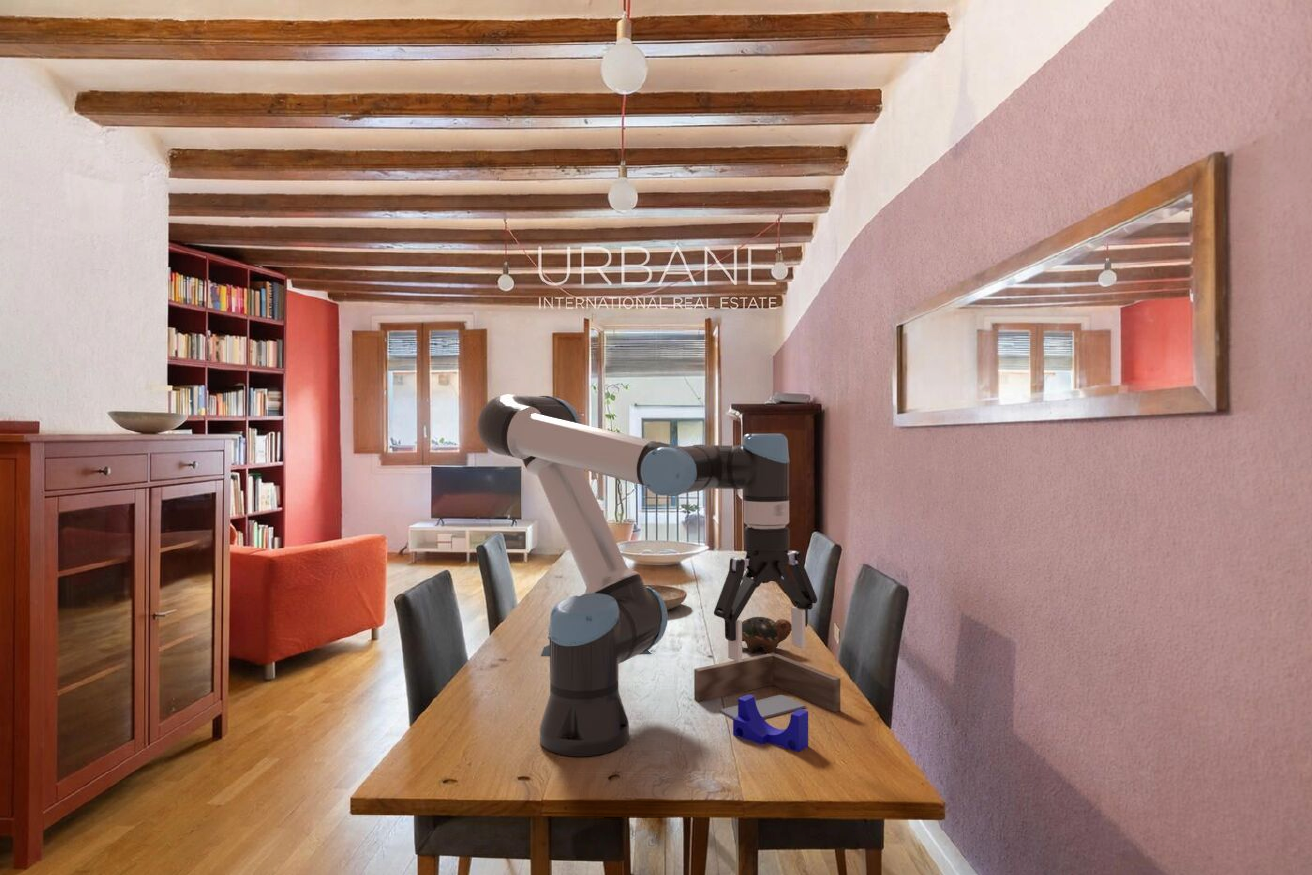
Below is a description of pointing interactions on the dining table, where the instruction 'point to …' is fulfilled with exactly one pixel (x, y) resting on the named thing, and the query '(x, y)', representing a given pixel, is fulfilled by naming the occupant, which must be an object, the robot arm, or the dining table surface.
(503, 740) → the dining table surface
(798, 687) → the corner walls
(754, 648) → the decorative turtle
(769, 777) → the dining table surface
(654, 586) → the ceramic bowl
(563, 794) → the dining table surface
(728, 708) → the grey mat
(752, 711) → the blue curved block
